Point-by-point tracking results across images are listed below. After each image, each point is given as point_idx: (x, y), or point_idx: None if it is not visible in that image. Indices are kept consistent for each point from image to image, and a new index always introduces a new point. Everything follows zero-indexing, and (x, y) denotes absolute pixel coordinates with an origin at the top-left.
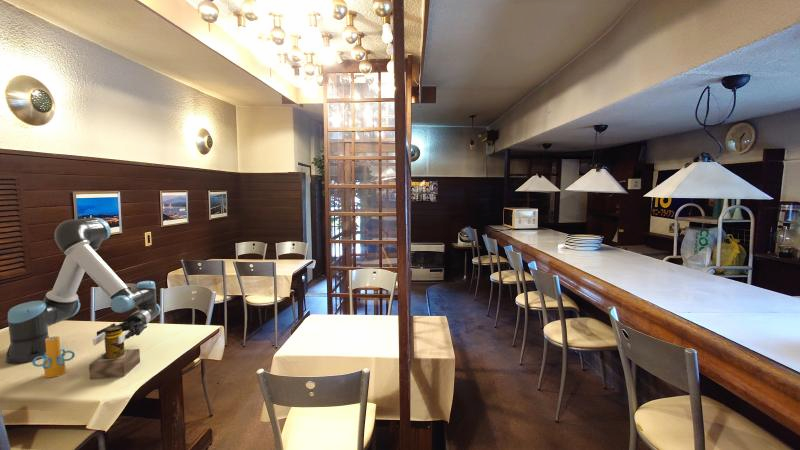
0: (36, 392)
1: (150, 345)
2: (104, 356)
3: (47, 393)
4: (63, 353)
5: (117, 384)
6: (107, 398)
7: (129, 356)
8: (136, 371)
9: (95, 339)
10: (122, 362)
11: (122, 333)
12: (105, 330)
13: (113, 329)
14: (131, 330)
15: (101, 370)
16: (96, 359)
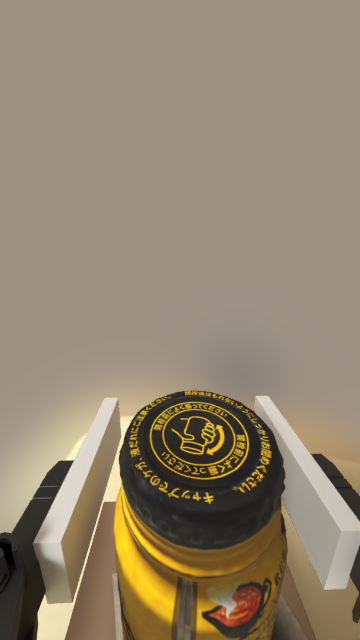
0: (340, 469)
1: None
2: (275, 636)
3: None
4: None
5: (120, 481)
6: (123, 419)
7: (81, 599)
8: (55, 626)
9: (256, 405)
10: (110, 504)
11: (118, 517)
12: (246, 407)
13: (181, 410)
14: (1, 546)
15: None
16: (286, 573)
